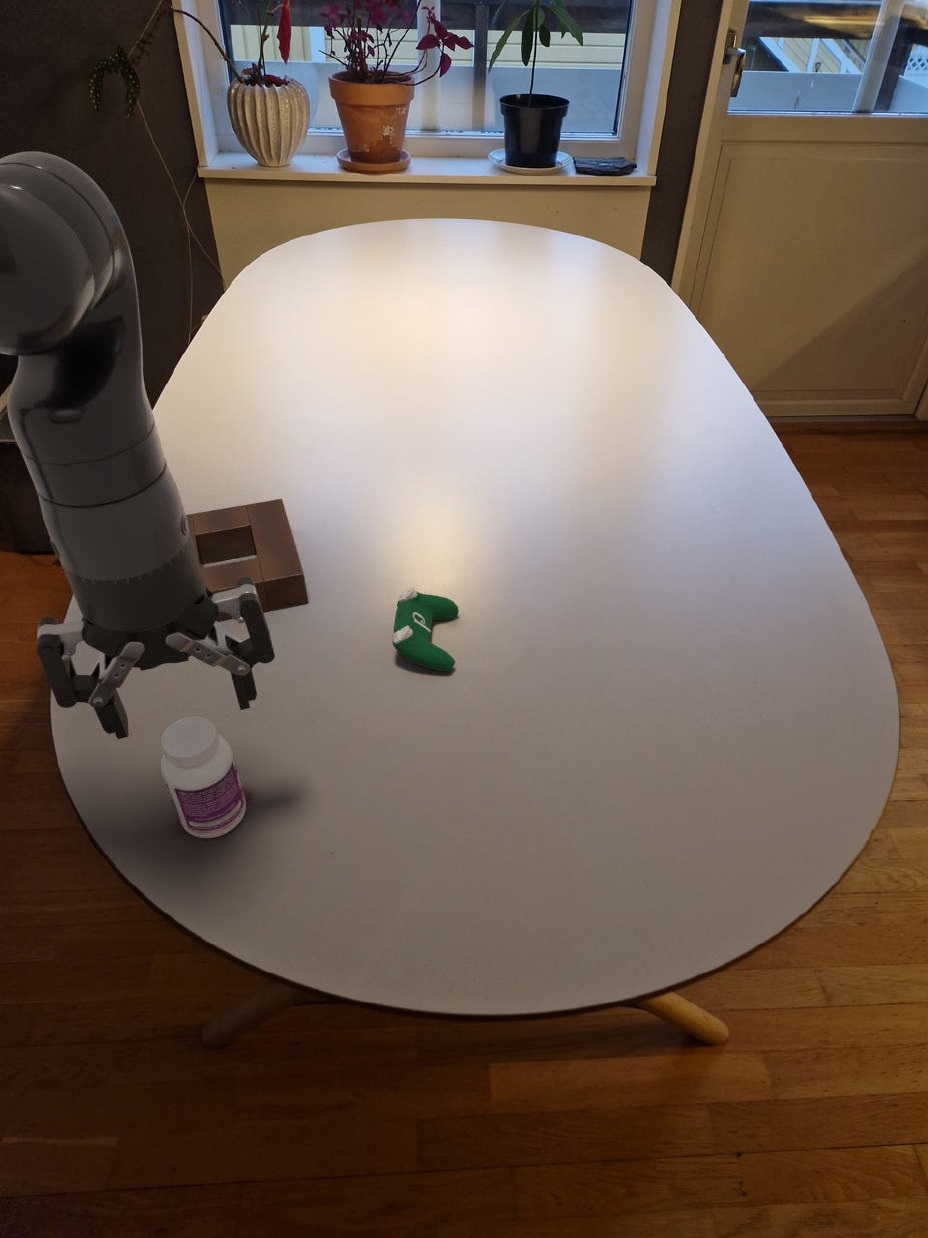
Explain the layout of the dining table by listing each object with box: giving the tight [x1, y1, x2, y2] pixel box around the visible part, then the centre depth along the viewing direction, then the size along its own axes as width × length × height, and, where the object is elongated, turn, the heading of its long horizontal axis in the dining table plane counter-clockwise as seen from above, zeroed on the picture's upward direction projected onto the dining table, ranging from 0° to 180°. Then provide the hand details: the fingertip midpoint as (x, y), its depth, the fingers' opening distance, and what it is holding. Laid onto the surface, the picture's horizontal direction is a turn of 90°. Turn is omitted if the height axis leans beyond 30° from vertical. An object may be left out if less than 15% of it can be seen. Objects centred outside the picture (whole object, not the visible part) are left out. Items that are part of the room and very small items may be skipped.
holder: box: [185, 498, 309, 622], centre depth 91 cm, size 14×14×4 cm
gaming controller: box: [391, 587, 460, 673], centre depth 84 cm, size 9×4×6 cm
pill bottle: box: [160, 716, 247, 839], centre depth 67 cm, size 5×5×10 cm
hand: (184, 715), depth 62 cm, fingers open, 8 cm apart
